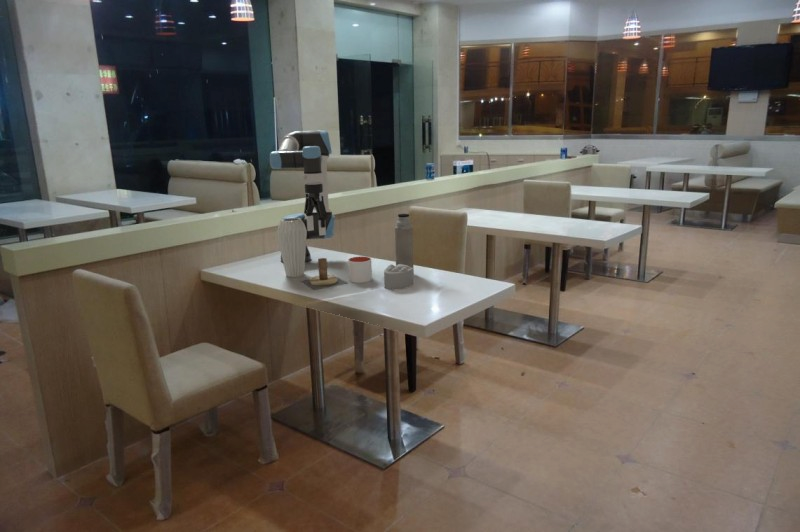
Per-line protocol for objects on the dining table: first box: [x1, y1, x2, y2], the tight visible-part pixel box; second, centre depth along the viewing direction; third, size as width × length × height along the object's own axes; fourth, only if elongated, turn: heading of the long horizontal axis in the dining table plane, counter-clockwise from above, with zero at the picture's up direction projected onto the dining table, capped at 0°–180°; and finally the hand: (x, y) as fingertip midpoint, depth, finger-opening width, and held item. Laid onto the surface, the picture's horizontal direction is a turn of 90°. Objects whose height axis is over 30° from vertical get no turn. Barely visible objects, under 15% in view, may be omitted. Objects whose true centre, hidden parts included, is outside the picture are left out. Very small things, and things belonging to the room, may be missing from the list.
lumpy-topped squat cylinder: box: [383, 263, 414, 291], centre depth 240 cm, size 10×13×9 cm
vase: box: [276, 218, 307, 278], centre depth 256 cm, size 13×13×26 cm
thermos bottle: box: [394, 213, 415, 276], centre depth 253 cm, size 8×8×28 cm
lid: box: [309, 257, 338, 286], centre depth 245 cm, size 12×12×10 cm
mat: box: [299, 274, 349, 291], centre depth 246 cm, size 16×16×1 cm
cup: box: [347, 256, 373, 284], centre depth 247 cm, size 10×10×10 cm
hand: (316, 232), depth 244 cm, fingers open, 13 cm apart
